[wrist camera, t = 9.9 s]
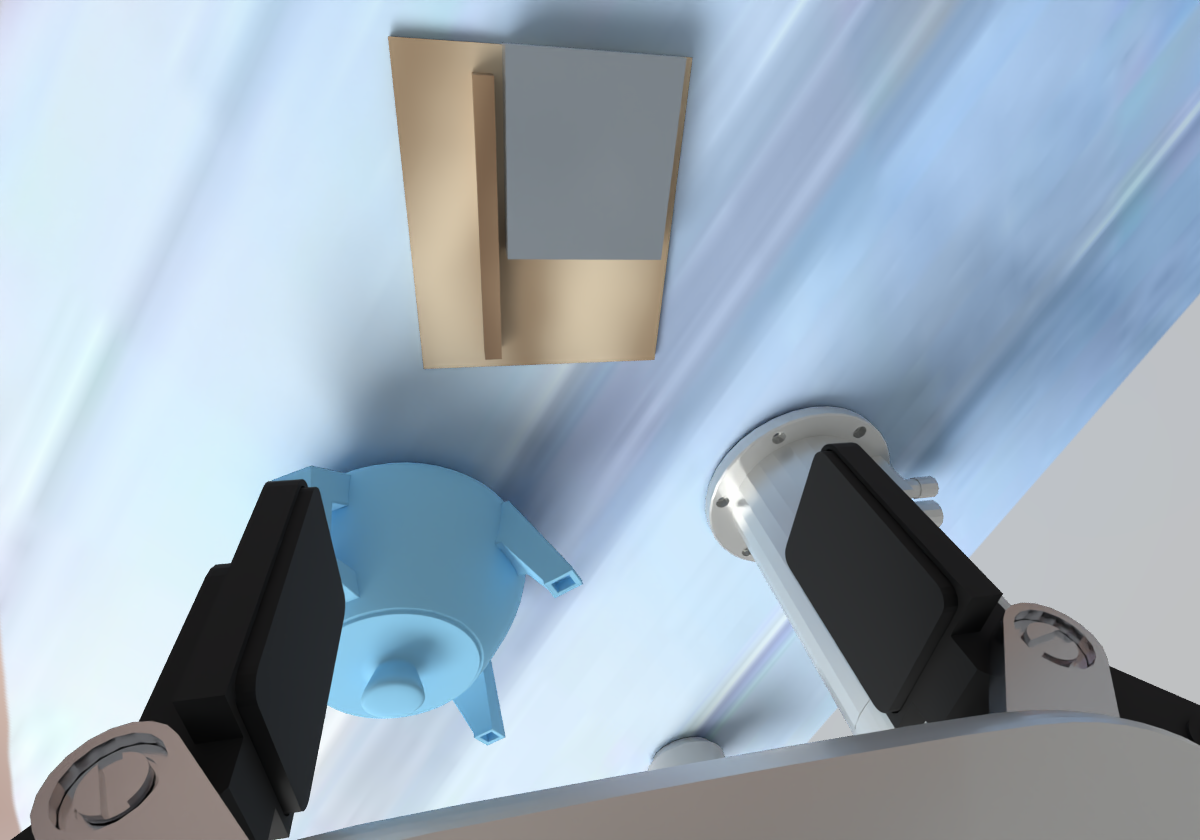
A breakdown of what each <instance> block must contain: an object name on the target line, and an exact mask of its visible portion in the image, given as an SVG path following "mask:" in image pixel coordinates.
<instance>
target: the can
mask: <svg viewBox="0 0 1200 840" xmlns="http://www.w3.org/2000/svg"><path fill="white" fill-rule="evenodd" d="M719 758H725V756H724V753H723V751H722V748H721V747H720V746H718V745H717V744H715V743H713V742H710V741H708V740H707V739H705V738H701V737H689V738H683V739H680V740H677V741H674V742H672V743H670V744H668V745H666V746H664V747H663V748H662V749H661V750H659V751H658V752H657V754H656V755H655V756H654V759H653V761H652V763H651V764H650V766H649V768H648V771H650V770H656V769H662V768H668V767H673V766H679V765H685V764H690V763H696V762H702V761H707V760H713V759H719Z"/></svg>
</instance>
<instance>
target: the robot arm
mask: <svg viewBox="0 0 1200 840" xmlns="http://www.w3.org/2000/svg"><path fill="white" fill-rule="evenodd" d="M889 463H890V455H889V451H888V447H887V443H886V441H885V440H884V438H883V436H882V434H881V433H880V432H879V431H878V430H877V429H876V428H875V427H874V426H873V425H872V424H871V423H870V422H869V421H868V420H867V419H865V418H864V417H862V416H861V415H860V414H858V413H856V412H853V411H850V410H847V409H845V408H838V407H831V406H822V407H809V408H805V409H800V410H796V411H792V412H789V413H786V414H784V415H781V416H779V417H776V418H774V419H772V420H770V421H768V422H767V423H765V424H763V425H761V426H759V427H758V428H756V429H755V430H753V431H752V432H751V433H749V434H748V435H747V436H745V437H744V438H743V439H742V440H740V441H739V442H738V443H737V444H736V445H735V446H734V447H733V448H732V449H731V450H730V451H729V452H728V453H727V455H726V456H725V457H724V459H723V460H722V462H721V463H720V464H719V466H718V467H717V469H716V471H715V473H714V475H713V477H712V479H711V481H710V483H709V486H708V490H707V494H706V498H705V514H706V518H707V522H708V525H709V527H710V529H711V531H712V533H713V535H714V537H715V539H716V540H717V541H718V543H719V544H720V545H721V546H722V547H723V548H724V549H725V550H727V551H728V552H729V553H730V554H732V555H734V556H736V557H738V558H740V559H744V560H748V561H753V562H756V563H757V565H758V567H759V569H760V570H761V572H762V574H763V576H764V577H765V579H766V581H767V583H768V585H769V586H770V588H771V590H772V592H773V593H774V595H775V597H776V599H777V600H778V602H779V604H780V606H781V607H782V609H783V611H784V613H785V615H786V616H787V618H788V620H789V622H790V623H791V625H792V627H793V629H794V630H795V632H796V634H797V636H798V638H799V639H800V641H801V643H802V645H803V646H804V648H805V650H806V652H807V653H808V655H809V657H810V659H811V660H812V662H813V664H814V666H815V668H816V669H817V671H818V673H819V675H820V676H821V678H822V680H823V682H824V683H825V685H826V687H827V689H828V691H829V692H830V694H831V696H832V698H833V699H834V701H835V703H836V705H837V706H838V708H839V710H840V712H841V713H842V715H843V717H844V719H845V721H846V722H847V724H848V726H849V728H850V729H851V731H852V733H853V736H847V737H841V738H835V739H829V740H823V741H818V742H812V743H806V744H800V745H794V746H788V747H782V748H776V749H771V750H765V751H759V752H753V753H748V754H742V755H736V756H730V757H725V758H719V759H713V760H707V761H702V762H696V763H690V764H685V765H679V766H673V767H668V768H662V769H656V770H650V771H645V772H639V773H633V774H628V775H622V776H616V777H611V778H605V779H600V780H594V781H589V782H583V783H578V784H572V785H566V786H561V787H555V788H550V789H544V790H539V791H533V792H528V793H522V794H516V795H511V796H505V797H500V798H494V799H489V800H483V801H478V802H472V803H466V804H461V805H456V806H451V807H446V808H441V809H436V810H431V811H426V812H421V813H416V814H411V815H406V816H401V817H396V818H391V819H386V820H380V821H375V822H370V823H365V824H360V825H356V826H351V827H347V828H343V829H339V830H335V831H331V832H327V833H323V834H319V835H315V836H311V837H307V838H303V839H298V840H1200V705H1198V704H1196V703H1193V702H1191V701H1189V700H1186V699H1184V698H1181V697H1179V696H1177V695H1175V694H1173V693H1170V692H1168V691H1166V690H1163V689H1161V688H1159V687H1156V686H1154V685H1152V684H1149V683H1147V682H1145V681H1143V680H1140V679H1138V678H1136V677H1133V676H1131V675H1129V674H1126V673H1124V672H1122V671H1119V670H1117V669H1115V668H1113V667H1110V666H1109V664H1108V659H1107V656H1106V654H1105V652H1104V649H1103V647H1102V646H1101V644H1100V643H1099V642H1098V641H1097V639H1096V638H1095V637H1094V636H1093V635H1092V634H1091V633H1090V632H1089V631H1088V630H1086V629H1085V628H1084V627H1083V626H1082V625H1081V624H1079V623H1078V622H1076V621H1075V620H1073V619H1072V618H1070V617H1069V616H1067V615H1065V614H1063V613H1061V612H1059V611H1056V610H1054V609H1052V608H1049V607H1046V606H1042V605H1038V604H1034V603H1019V604H1014V605H1010V604H1009V603H1008V602H1007V601H1006V600H1005V599H1004V597H1003V596H1002V595H1003V593H1002V592H1000V590H999V589H998V588H997V587H996V586H995V585H994V584H993V583H992V582H991V581H990V580H989V579H988V578H987V577H986V576H985V575H984V574H983V573H982V572H981V571H980V570H979V569H978V567H977V566H976V565H975V564H974V563H973V562H972V561H971V560H970V559H969V558H968V557H967V556H966V555H965V554H964V553H963V552H962V551H961V550H960V549H959V548H958V547H957V546H956V545H955V544H954V543H953V542H952V541H951V540H950V539H949V537H948V536H947V535H946V534H945V533H944V532H943V531H942V530H941V529H940V528H939V527H940V526H941V524H942V523H943V512H942V509H941V507H940V506H939V504H938V503H936V502H935V501H933V500H927V501H916V502H914V501H913V500H912V499H911V498H914V499H916V498H927V497H935V496H936V495H937V494H938V489H939V488H938V483H937V481H936V480H935V478H933V477H931V476H927V477H916V478H910V479H905V480H904V478H902V477H901V476H900V475H899V474H898V473H897V472H896V471H895V470H894V469H893V468H892V467H891V466H890V465H889ZM344 615H345V594H344V590H343V585H342V581H341V577H340V573H339V569H338V564H337V560H336V556H335V552H334V548H333V544H332V539H331V535H330V531H329V527H328V523H327V519H326V514H325V510H324V506H323V502H322V498H321V493H320V490H319V488H318V487H308V485H307V483H306V481H305V480H303V479H297V480H282V481H268V482H267V483H265V485H264V487H263V489H262V491H261V494H260V496H259V498H258V501H257V503H256V506H255V508H254V510H253V513H252V515H251V517H250V520H249V522H248V524H247V527H246V529H245V531H244V534H243V536H242V538H241V541H240V543H239V546H238V548H237V550H236V553H235V555H234V557H233V560H232V562H231V563H229V564H218V565H215V566H214V567H212V568H211V569H210V571H209V572H208V574H207V575H206V577H205V579H204V581H203V584H202V586H201V588H200V590H199V592H198V594H197V597H196V599H195V601H194V603H193V605H192V607H191V610H190V612H189V614H188V616H187V618H186V620H185V623H184V625H183V627H182V629H181V631H180V634H179V636H178V638H177V640H176V642H175V644H174V647H173V649H172V651H171V653H170V655H169V657H168V660H167V662H166V664H165V666H164V668H163V670H162V673H161V675H160V677H159V679H158V681H157V683H156V686H155V688H154V690H153V692H152V694H151V696H150V699H149V701H148V703H147V705H146V707H145V709H144V712H143V714H142V716H141V718H140V720H139V722H131V723H128V724H125V725H122V726H118V727H115V728H112V729H109V730H107V731H105V732H103V733H102V734H100V735H98V736H96V737H94V738H92V739H90V740H88V741H87V742H85V743H84V744H83V745H81V746H80V747H79V748H77V749H76V750H75V751H73V752H72V753H71V754H69V755H68V756H67V757H66V758H65V759H64V760H63V761H62V762H61V763H60V764H59V765H58V766H57V767H56V768H55V769H54V770H53V771H52V772H51V773H50V774H49V776H48V777H47V779H46V780H45V782H44V784H43V785H42V787H41V788H40V790H39V791H38V793H37V795H36V797H35V800H34V804H33V807H32V810H31V814H30V819H31V825H30V826H29V827H28V828H26V829H25V830H24V831H22V832H21V833H20V834H18V835H17V836H16V837H14V838H13V839H11V840H276V839H282V838H287V837H289V835H290V830H291V825H292V820H293V816H294V813H295V812H301V811H304V810H305V809H306V807H307V804H308V801H309V797H310V791H311V786H312V781H313V776H314V771H315V766H316V760H317V755H318V750H319V745H320V740H321V735H322V729H323V724H324V719H325V714H326V709H327V704H328V698H329V693H330V688H331V683H332V678H333V673H334V667H335V662H336V657H337V652H338V647H339V642H340V636H341V631H342V626H343V621H344Z"/></svg>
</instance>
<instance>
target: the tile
mask: <svg viewBox="0 0 1200 840" xmlns="http://www.w3.org/2000/svg"><path fill="white" fill-rule="evenodd" d="M686 60H687V58H685V57H678V56H669V55H657V54H644V53H631V52H618V51H606V50H593V49H580V48H567V47H554V46H542V45H529V44H516V43H503V42H502V76H503V143H504V211H505V250H506V254H507V258H508V259H549V260H661V256H662V248H663V240H664V232H665V224H666V216H667V209H668V201H669V193H670V185H671V177H672V169H673V162H674V154H675V146H676V138H677V130H678V122H679V114H680V107H681V99H682V91H683V83H684V75H685V67H686Z"/></svg>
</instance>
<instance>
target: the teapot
mask: <svg viewBox="0 0 1200 840" xmlns="http://www.w3.org/2000/svg"><path fill="white" fill-rule="evenodd" d="M297 479H303V480H305V481H306V483H307V485H308V487H318V488H319V490H320V493H321V498H322V502H323V506H324V510H325V514H326V519H327V523H328V527H329V531H330V535H331V539H332V544H333V548H334V552H335V556H336V560H337V564H338V569H339V573H340V577H341V581H342V585H343V590H344V594H345V615H344V621H343V626H342V631H341V636H340V642H339V647H338V652H337V657H336V662H335V667H334V673H333V678H332V683H331V688H330V693H329V698H328V704H327V705H328V706H330V707H332V708H334V709H336V710H339V711H341V712H344V713H347V714H351V715H355V716H360V717H366V718H399V717H407V716H411V715H416V714H420V713H424V712H427V711H430V710H432V709H435V708H438V707H440V706H442V705H444V704H446V703H448V702H450V701H451V700H453V701H454V703H455V704H456V706H457V707H458V709H459V711H460V712H461V714H462V715H463V717H464V719H465V720H466V722H467V723H468V725H469V726H470V728H471V730H472V731H473V733H474V738H475V739H477V740H479V741H481V742H482V743H484V744H486V745H490V744H492V743H494V742H496V741H498V740H500V739H503V738H505V732H504V726H503V721H502V716H501V711H500V705H499V700H498V695H497V689H496V684H495V679H494V674H493V668H492V663H491V659H492V657H493V656H494V654H495V652H496V651H497V649H498V648H499V646H500V644H501V643H502V641H503V640H504V638H505V636H506V634H507V633H508V631H509V629H510V627H511V625H512V623H513V620H514V618H515V616H516V613H517V610H518V607H519V605H520V601H521V597H522V593H523V588H524V583H525V575H526V574H528V575H529V576H531V577H532V578H533V579H535V580H536V581H537V582H539V583H540V584H541V585H543V586H544V587H545V588H547V589H548V590H549V591H550V593H551V594H552V595H553V596H554V597H555V598H556V597H558V596H560V595H562V594H564V593H566V592H568V591H570V590H572V589H574V588H576V587H578V586H580V585H582V584H583V583H582V580H581V578H580V577H579V576H578V574H577V573H576V572H575V570H574V569H573V568H572V566H571V565H570V564H569V563H568V562H567V561H566V560H565V559H564V558H563V557H562V556H561V555H560V554H559V553H558V552H557V551H556V550H555V548H554V547H553V546H552V545H551V544H550V543H549V542H548V541H547V540H546V539H545V538H544V537H543V536H542V535H541V534H540V533H539V532H538V531H537V530H536V529H535V528H534V527H533V526H532V524H531V523H530V522H529V521H528V520H527V519H526V518H525V517H524V516H523V515H522V514H521V513H520V512H519V511H518V510H517V509H516V508H515V507H514V506H513V505H512V504H511V503H510V502H509V501H506V502H504V501H503V500H502V499H501V498H500V497H499V496H498V495H497V494H496V493H495V492H494V491H493V490H491V489H490V488H488V487H487V486H486V485H484V484H483V483H481V482H479V481H477V480H475V479H474V478H472V477H470V476H468V475H465V474H462V473H460V472H457V471H455V470H452V469H448V468H444V467H441V466H436V465H430V464H424V463H410V462H400V463H386V464H379V465H372V466H368V467H364V468H360V469H356V470H352V471H349V472H347V473H342V472H337V471H333V470H328V469H324V468H319V467H315V466H309V467H307V468H304V469H301V470H298V471H296V472H293V473H290V474H288V475H285V476H282V477H279V478H277V479H274V480H272V481H282V480H297Z"/></svg>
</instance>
